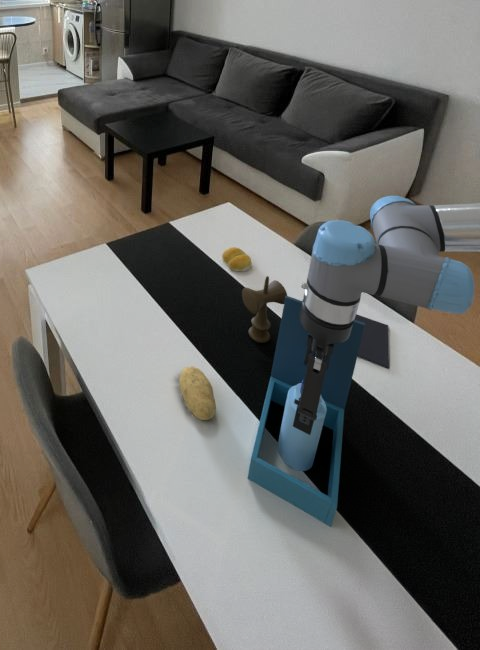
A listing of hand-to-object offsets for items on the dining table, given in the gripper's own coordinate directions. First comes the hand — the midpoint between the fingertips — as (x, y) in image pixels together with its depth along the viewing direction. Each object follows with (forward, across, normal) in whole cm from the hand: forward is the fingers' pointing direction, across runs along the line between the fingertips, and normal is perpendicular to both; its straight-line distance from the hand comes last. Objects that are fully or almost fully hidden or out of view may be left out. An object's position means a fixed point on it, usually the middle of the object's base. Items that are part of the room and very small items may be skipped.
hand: (306, 395), depth 78 cm
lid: (0, -11, 0) cm, 11 cm away
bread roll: (+19, -51, -24) cm, 59 cm away
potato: (+19, -1, -20) cm, 27 cm away
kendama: (+19, -26, -12) cm, 34 cm away
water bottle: (+17, 0, 0) cm, 17 cm away
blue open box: (+18, 0, 0) cm, 18 cm away
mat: (+18, -39, +9) cm, 44 cm away
